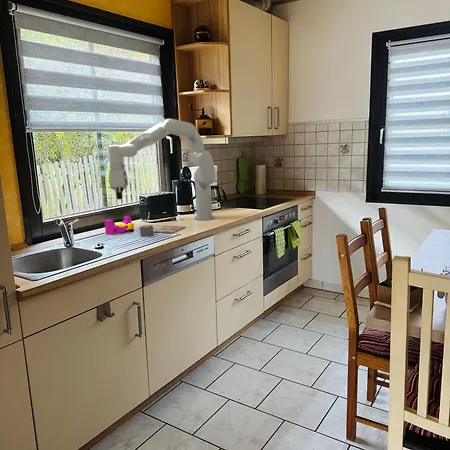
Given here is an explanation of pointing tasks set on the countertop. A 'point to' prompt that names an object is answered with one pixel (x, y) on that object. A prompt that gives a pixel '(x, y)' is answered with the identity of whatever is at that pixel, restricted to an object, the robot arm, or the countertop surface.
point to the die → (146, 230)
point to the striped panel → (167, 229)
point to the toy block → (113, 229)
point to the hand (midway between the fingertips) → (119, 199)
